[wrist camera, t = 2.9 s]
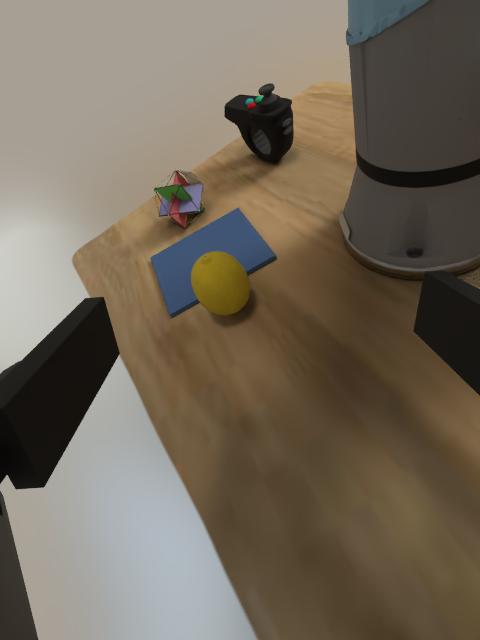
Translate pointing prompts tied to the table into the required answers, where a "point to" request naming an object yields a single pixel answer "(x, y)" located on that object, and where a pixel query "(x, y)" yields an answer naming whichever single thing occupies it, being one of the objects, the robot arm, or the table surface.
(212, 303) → the lemon
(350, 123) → the table surface
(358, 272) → the table surface
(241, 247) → the blue mat
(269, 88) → the controller
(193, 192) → the geometric puzzle
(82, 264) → the table surface
